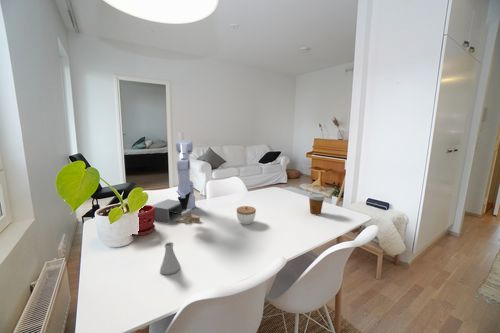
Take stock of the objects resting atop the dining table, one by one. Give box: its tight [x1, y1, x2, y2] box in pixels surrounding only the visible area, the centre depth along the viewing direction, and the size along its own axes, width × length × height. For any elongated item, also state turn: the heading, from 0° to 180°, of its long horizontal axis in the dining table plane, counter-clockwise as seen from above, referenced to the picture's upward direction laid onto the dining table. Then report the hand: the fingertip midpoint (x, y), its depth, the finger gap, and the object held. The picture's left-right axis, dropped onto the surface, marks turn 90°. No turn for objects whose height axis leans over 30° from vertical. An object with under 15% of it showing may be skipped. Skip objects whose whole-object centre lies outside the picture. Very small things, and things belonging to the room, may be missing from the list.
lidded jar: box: [236, 205, 257, 225], centre depth 124 cm, size 11×11×9 cm
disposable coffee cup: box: [308, 192, 325, 216], centre depth 139 cm, size 10×10×12 cm
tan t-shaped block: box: [176, 209, 201, 224], centre depth 126 cm, size 8×12×5 cm
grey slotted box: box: [151, 198, 185, 223], centre depth 132 cm, size 14×12×8 cm
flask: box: [159, 241, 181, 276], centre depth 82 cm, size 7×7×10 cm
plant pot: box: [137, 204, 156, 236], centre depth 111 cm, size 13×13×12 cm
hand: (185, 207), depth 120 cm, fingers open, 7 cm apart
